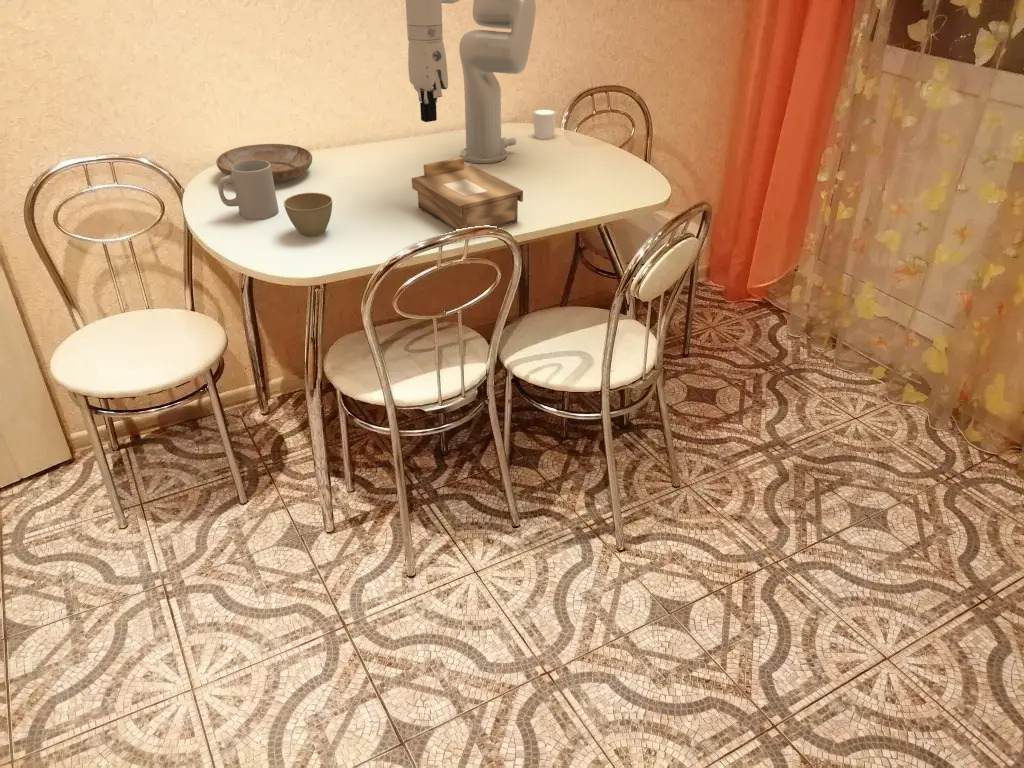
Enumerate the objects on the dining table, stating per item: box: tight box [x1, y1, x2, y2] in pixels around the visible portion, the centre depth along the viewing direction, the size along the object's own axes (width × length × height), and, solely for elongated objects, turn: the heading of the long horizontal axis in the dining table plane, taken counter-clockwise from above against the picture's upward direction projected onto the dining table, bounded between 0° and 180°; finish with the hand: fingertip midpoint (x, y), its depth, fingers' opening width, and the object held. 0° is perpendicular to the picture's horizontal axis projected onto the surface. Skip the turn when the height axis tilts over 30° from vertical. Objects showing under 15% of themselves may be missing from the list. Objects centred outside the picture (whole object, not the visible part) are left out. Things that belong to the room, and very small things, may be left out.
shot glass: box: [532, 108, 558, 140], centre depth 224 cm, size 7×7×7 cm
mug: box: [217, 160, 279, 221], centre depth 172 cm, size 12×8×11 cm
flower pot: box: [283, 192, 333, 238], centre depth 165 cm, size 10×10×7 cm
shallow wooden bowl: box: [215, 143, 313, 184], centre depth 196 cm, size 23×24×5 cm
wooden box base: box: [417, 192, 519, 231], centre depth 174 cm, size 14×20×6 cm
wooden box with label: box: [410, 156, 524, 217], centre depth 171 cm, size 16×21×5 cm
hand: (428, 120), depth 175 cm, fingers closed
